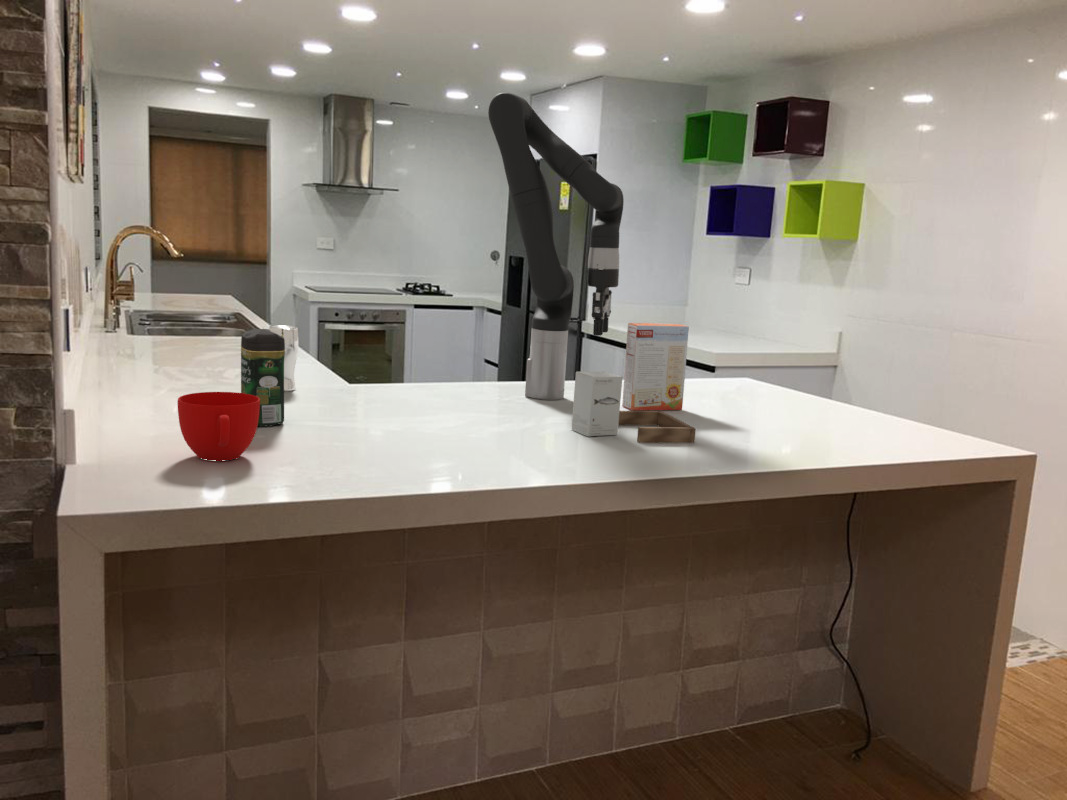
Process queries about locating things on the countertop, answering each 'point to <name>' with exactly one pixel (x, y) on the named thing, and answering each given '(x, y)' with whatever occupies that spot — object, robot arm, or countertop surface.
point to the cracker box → (655, 366)
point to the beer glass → (288, 352)
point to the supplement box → (596, 403)
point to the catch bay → (666, 433)
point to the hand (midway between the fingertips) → (600, 333)
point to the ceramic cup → (218, 423)
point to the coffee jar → (264, 373)
